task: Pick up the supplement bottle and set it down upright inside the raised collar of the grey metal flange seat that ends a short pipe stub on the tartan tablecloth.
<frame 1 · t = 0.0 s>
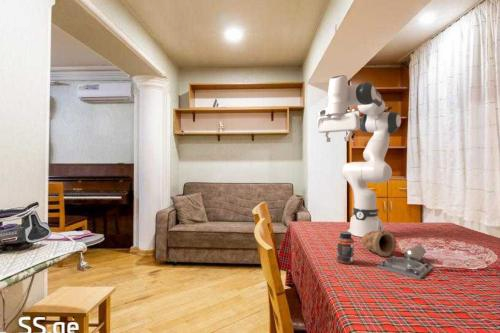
hand: (337, 141, 133), 48 cm above the table, fingers open, 8 cm apart
flange seat: (404, 268, 106), on the table
clay pipe: (378, 251, 126), on the table
supplement bottle: (345, 262, 111), on the table
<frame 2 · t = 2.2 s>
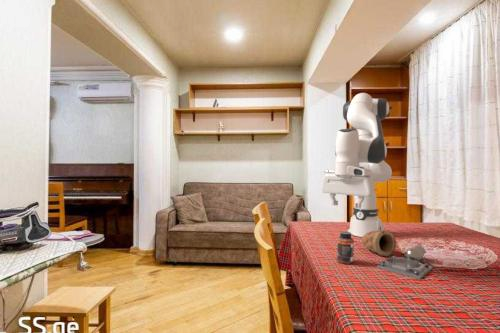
hand: (346, 206, 111), 21 cm above the table, fingers open, 8 cm apart
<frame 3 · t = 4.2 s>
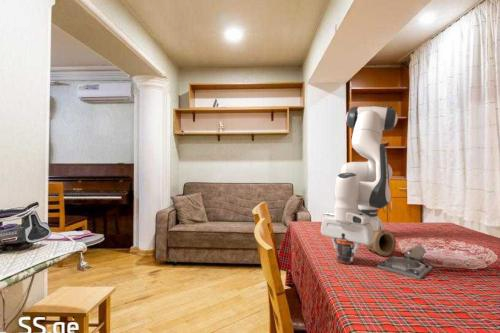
hand: (345, 251, 111), 4 cm above the table, fingers closed on supplement bottle, 6 cm apart
supplement bottle: (345, 262, 111), on the table, touching gripper
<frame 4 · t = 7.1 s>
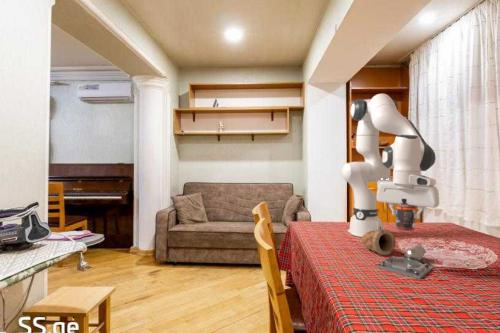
hand: (405, 217, 105), 19 cm above the table, fingers closed on supplement bottle, 6 cm apart
supplement bottle: (405, 229, 105), point 14 cm above the table, touching gripper
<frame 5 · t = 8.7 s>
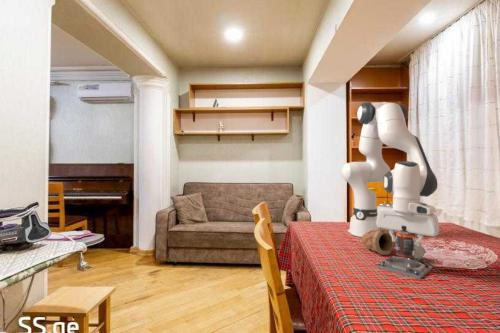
hand: (405, 243, 105), 9 cm above the table, fingers closed on supplement bottle, 6 cm apart
supplement bottle: (405, 256, 105), point 4 cm above the table, touching gripper
when the fingers open (6 cm above the table, at t = 10.3 s): supplement bottle stays where it is, resting on flange seat.
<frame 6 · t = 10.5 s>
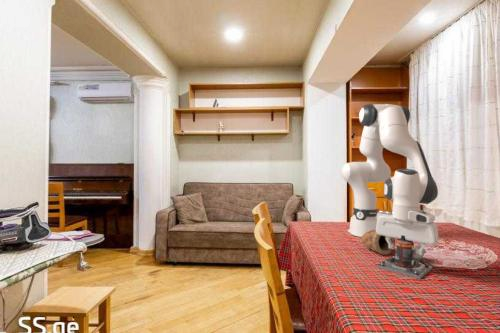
hand: (404, 251, 106), 6 cm above the table, fingers open, 8 cm apart
supplement bottle: (404, 265, 106), point 1 cm above the table, touching flange seat
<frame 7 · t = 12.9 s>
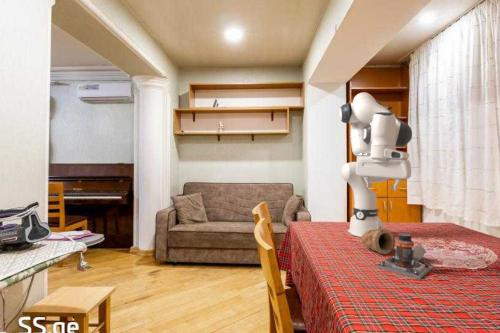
hand: (381, 188, 114), 28 cm above the table, fingers open, 8 cm apart
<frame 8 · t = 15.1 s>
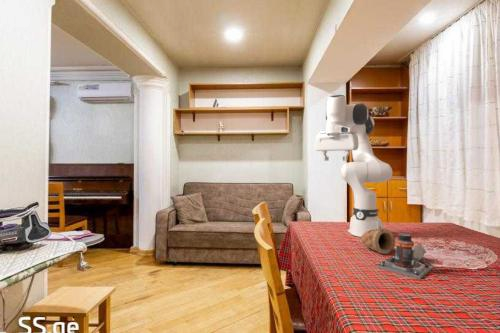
hand: (335, 160, 132), 39 cm above the table, fingers open, 8 cm apart
at the end: supplement bottle inside the target area on the flange seat (0.1 cm from its centre), point 0.8 cm above the flange seat's base; supplement bottle tilted 0°; the gripper is holding nothing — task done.
